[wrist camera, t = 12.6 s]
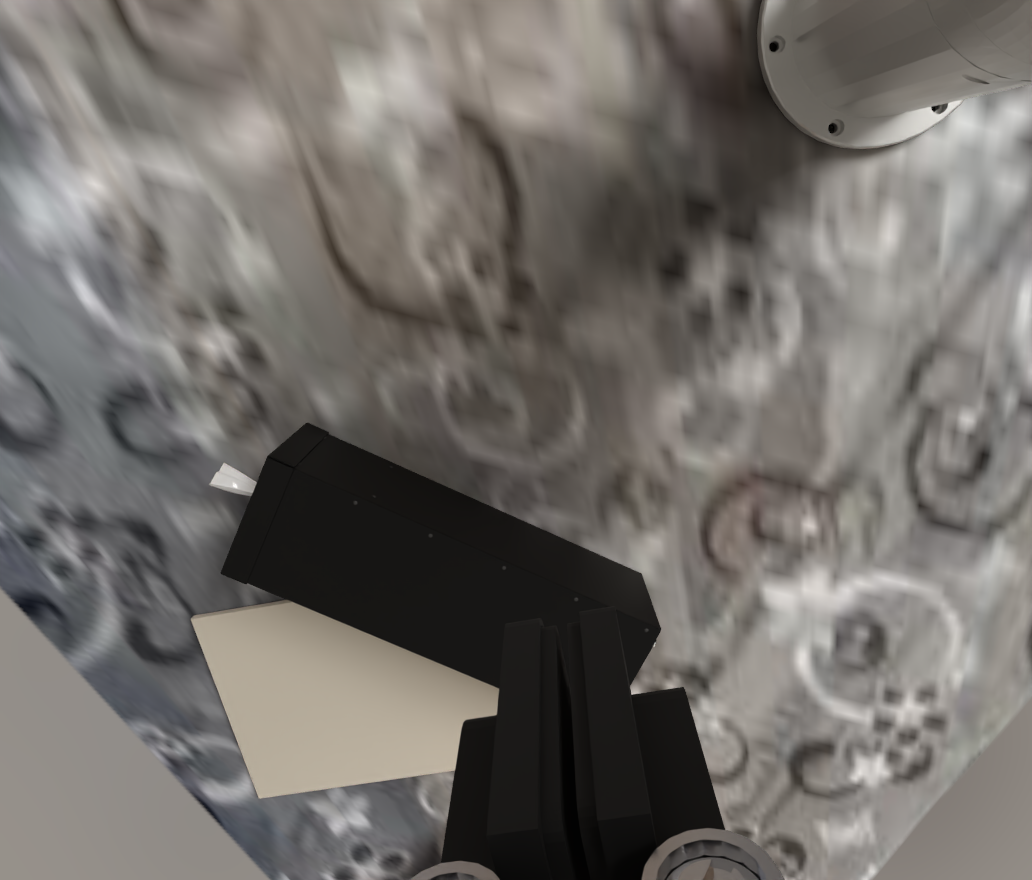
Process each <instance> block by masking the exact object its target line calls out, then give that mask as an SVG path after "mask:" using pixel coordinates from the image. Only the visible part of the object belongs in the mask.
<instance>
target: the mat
mask: <svg viewBox="0 0 1032 880" xmlns="http://www.w3.org/2000/svg"><path fill="white" fill-rule="evenodd" d="M191 622H192V624H193V627H194V629H195V632H196V635H197V637H198V640H199V643H200V645H201V648H202V650H203V653H204V656H205V658H206V661H207V664H208V666H209V669H210V671H211V674H212V677H213V679H214V682H215V685H216V687H217V690H218V692H219V695H220V698H221V700H222V703H223V705H224V708H225V711H226V713H227V716H228V719H229V721H230V724H231V726H232V729H233V732H234V734H235V737H236V740H237V742H238V745H239V747H240V750H241V753H242V755H243V758H244V761H245V763H246V766H247V768H248V771H249V774H250V776H251V779H252V782H253V784H254V787H255V789H256V792H257V795H258V797H259V799H260V798H267V797H274V796H281V795H288V794H295V793H302V792H309V791H316V790H323V789H330V788H336V787H343V786H350V785H357V784H364V783H371V782H378V781H385V780H392V779H399V778H406V777H413V776H420V775H427V774H434V773H441V772H448V771H455V768H456V761H457V755H458V748H459V741H460V735H461V729H462V725H463V722H464V721H465V720H468V719H474V718H481V717H488V716H494V715H497V707H498V695H499V688H496V687H494V686H491V685H489V684H487V683H484V682H482V681H479V680H477V679H475V678H472V677H470V676H468V675H465V674H463V673H460V672H458V671H456V670H453V669H451V668H449V667H446V666H444V665H441V664H439V663H437V662H434V661H432V660H429V659H427V658H425V657H422V656H420V655H418V654H415V653H413V652H410V651H408V650H406V649H403V648H401V647H398V646H396V645H394V644H391V643H389V642H387V641H384V640H382V639H379V638H377V637H375V636H372V635H370V634H367V633H365V632H363V631H360V630H358V629H356V628H353V627H351V626H348V625H346V624H344V623H341V622H339V621H336V620H334V619H332V618H329V617H327V616H325V615H322V614H320V613H317V612H315V611H313V610H310V609H308V608H305V607H303V606H301V605H298V604H296V603H294V602H291V601H289V600H282V601H277V602H271V603H265V604H259V605H253V606H247V607H241V608H235V609H229V610H223V611H217V612H212V613H206V614H200V615H194V616H193V617H192V618H191Z"/></svg>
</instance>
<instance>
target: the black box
mask: <svg viewBox="0 0 1032 880" xmlns="http://www.w3.org/2000/svg"><path fill="white" fill-rule="evenodd" d="M328 433H329V432H327V431H325V430H322V429H320V428H318V427H316V426H313V425H311V424H309V423H306V424H305V425H303V426H302V427H301V428H300V429H299V430H298V431H296V432H295V433H294V434H293V435H292V436H291V437H289V438H288V439H287V440H286V441H285V442H284V443H282V444H281V445H280V446H279V447H278V448H277V449H275V450H274V451H273V452H272V453H271V454H270V455H268V456H267V459H266V461H265V464H264V466H263V469H262V471H261V474H260V476H259V479H258V481H257V482H255V481H254V480H252V479H251V478H249V477H248V476H246V475H244V474H243V473H241V472H240V471H238V470H236V469H235V468H233V467H231V466H230V465H228V464H226V463H224V464H223V465H222V467H221V469H220V470H219V472H216V474H215V475H214V477H213V479H212V481H211V483H210V484H209V485H210V486H213V487H216V488H218V489H221V490H225V491H228V492H232V493H236V494H241V495H246V496H251V498H250V501H249V503H248V506H247V508H246V511H245V513H244V516H243V518H242V521H241V523H240V526H239V528H238V531H237V533H236V536H235V538H234V541H233V543H232V546H231V548H230V551H229V553H228V556H227V558H226V561H225V563H224V566H223V568H222V571H221V574H222V575H225V576H227V577H229V578H232V579H234V580H237V581H239V582H241V583H244V584H247V583H248V584H251V585H253V586H255V587H258V588H260V589H263V590H265V591H267V592H270V593H272V594H275V595H277V596H279V597H282V598H284V599H286V600H289V601H291V602H294V603H296V604H298V605H301V606H303V607H305V608H308V609H310V610H313V611H315V612H317V613H320V614H322V615H325V616H327V617H329V618H332V619H334V620H336V621H339V622H341V623H344V624H346V625H348V626H351V627H353V628H356V629H358V630H360V631H363V632H365V633H367V634H370V635H372V636H375V637H377V638H379V639H382V640H384V641H387V642H389V643H391V644H394V645H396V646H398V647H401V648H403V649H406V650H408V651H410V652H413V653H415V654H418V655H420V656H422V657H425V658H427V659H429V660H432V661H434V662H437V663H439V664H441V665H444V666H446V667H449V668H451V669H453V670H456V671H458V672H460V673H463V674H465V675H468V676H470V677H472V678H475V679H477V680H479V681H482V682H484V683H487V684H489V685H491V686H494V687H496V688H499V684H500V673H501V662H502V650H503V639H504V628H505V624H507V623H513V622H519V621H526V620H532V619H538V618H541V619H542V622H543V625H544V627H549V626H557V629H558V633H559V638H560V642H561V647H562V652H563V656H564V661H565V666H566V670H567V675H568V680H569V684H570V671H569V653H568V635H567V624H568V623H574V622H580V614H579V612H581V611H587V610H594V609H600V608H606V607H612V606H615V610H616V615H617V620H618V626H619V631H620V636H621V642H622V647H623V652H624V658H625V663H626V668H627V674H628V679H629V684H630V685H631V683H632V682H633V680H634V678H635V677H636V675H637V673H638V671H639V670H640V668H641V666H642V664H643V663H644V661H645V659H646V658H647V656H648V654H649V652H650V651H651V649H652V647H654V646H655V644H656V638H657V637H658V635H659V633H660V631H661V628H660V625H659V622H658V619H657V616H656V613H655V610H654V608H653V605H652V602H651V599H650V596H649V593H648V591H647V588H646V585H645V582H644V579H643V576H642V574H641V573H639V572H636V571H634V570H632V569H630V568H627V567H625V566H623V565H621V564H618V563H616V562H614V561H612V560H609V559H607V558H605V557H603V556H600V555H598V554H596V553H594V552H591V551H589V550H587V549H585V548H582V547H580V546H578V545H576V544H574V543H571V542H569V541H567V540H565V539H562V538H560V537H558V536H556V535H553V534H551V533H549V532H547V531H544V530H542V529H540V528H538V527H535V526H533V525H531V524H529V523H526V522H524V521H522V520H520V519H517V518H515V517H513V516H511V515H509V514H506V513H504V512H502V511H500V510H497V509H495V508H493V507H491V506H488V505H486V504H484V503H482V502H479V501H477V500H475V499H473V498H470V497H468V496H466V495H464V494H461V493H459V492H457V491H455V490H452V489H450V488H448V487H446V486H443V485H441V484H439V483H437V482H435V481H432V480H430V479H428V478H426V477H423V476H421V475H419V474H417V473H414V472H412V471H410V470H408V469H405V468H403V467H401V466H399V465H396V464H394V463H392V462H390V461H387V460H385V459H383V458H381V457H378V456H376V455H374V454H372V453H369V452H367V451H365V450H363V449H361V448H358V447H356V446H354V445H352V444H349V443H347V442H345V441H343V440H340V439H338V438H336V437H334V436H331V435H329V434H328Z"/></svg>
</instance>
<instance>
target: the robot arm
mask: <svg viewBox="0 0 1032 880" xmlns="http://www.w3.org/2000/svg"><path fill="white" fill-rule="evenodd" d="M770 43H775V44H776V46H777V49H776V51H775V52H772V51H770V49H769V45H770ZM757 44H758V58H759V62H760V67H761V71H762V75H763V79H764V82H765V84H766V86H767V88H768V90H769V93H770V95H771V97H772V99H773V101H774V102H775V103H776V105H777V106H778V108H779V109H780V110H781V112H782V113H783V114H784V116H785V117H786V118H787V119H788V120H789V121H790V122H791V123H793V124H794V125H795V126H796V127H797V128H798V129H799V130H800V131H802V132H803V133H805V134H807V135H809V136H811V137H812V138H814V139H816V140H818V141H820V142H823V143H826V144H829V145H833V146H836V147H839V148H850V149H869V148H879V147H884V146H889V145H893V144H898V143H901V142H904V141H906V140H908V139H911V138H913V137H916V136H918V135H921V134H922V133H924V132H926V131H927V130H929V129H930V128H932V127H933V126H935V125H937V124H938V123H940V122H941V121H943V120H944V119H945V118H946V117H947V116H948V115H949V114H950V113H952V112H953V111H954V110H955V109H956V108H957V107H958V106H959V105H961V103H962V102H963V101H964V100H965V99H968V98H973V97H977V96H982V95H986V94H991V93H996V92H1000V91H1005V90H1009V89H1014V88H1018V87H1023V86H1027V85H1032V0H762V3H761V6H760V12H759V20H758V28H757ZM932 106H936V108H935V110H934V111H932V108H931V107H932ZM830 124H833V125H834V127H835V129H834V132H833V133H829V131H828V126H829V125H830ZM579 614H580V622H574V623H568V624H567V635H568V653H569V671H570V684H569V680H568V675H567V670H566V666H565V661H564V656H563V652H562V647H561V642H560V638H559V633H558V629H557V626H549V627H544V625H543V622H542V619H541V618H538V619H532V620H526V621H519V622H513V623H507V624H505V628H504V639H503V650H502V662H501V673H500V684H499V695H498V707H497V715H494V716H488V717H481V718H474V719H468V720H465V721H464V722H463V725H462V729H461V735H460V741H459V748H458V755H457V761H456V768H455V774H454V781H453V787H452V794H451V801H450V807H449V814H448V820H447V827H446V833H445V840H444V847H443V853H442V860H441V864H438V865H436V866H433V867H431V868H428V869H426V870H423V871H421V872H420V873H419V874H417V875H416V876H414V877H413V878H411V879H410V880H784V878H783V876H782V874H781V872H780V870H779V868H778V867H777V865H776V864H775V863H774V861H773V860H772V859H771V858H770V856H769V855H768V854H767V852H766V851H765V850H764V849H762V848H761V847H760V846H758V845H757V844H756V843H754V842H753V841H751V840H750V839H749V838H746V837H744V836H741V835H739V834H736V833H734V832H731V831H728V830H725V828H724V825H723V821H722V818H721V814H720V811H719V807H718V804H717V800H716V797H715V793H714V790H713V786H712V783H711V779H710V776H709V772H708V769H707V765H706V761H705V758H704V754H703V751H702V747H701V744H700V740H699V737H698V733H697V730H696V726H695V723H694V719H693V716H692V712H691V709H690V705H689V702H688V698H687V695H686V692H685V689H684V687H681V688H674V689H667V690H661V691H654V692H647V693H641V694H634V695H631V690H630V684H629V679H628V674H627V668H626V663H625V658H624V652H623V647H622V642H621V636H620V631H619V626H618V620H617V615H616V610H615V606H612V607H606V608H600V609H594V610H587V611H581V612H579Z"/></svg>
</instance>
